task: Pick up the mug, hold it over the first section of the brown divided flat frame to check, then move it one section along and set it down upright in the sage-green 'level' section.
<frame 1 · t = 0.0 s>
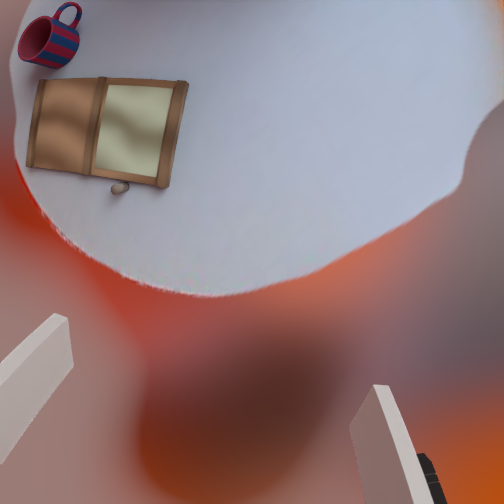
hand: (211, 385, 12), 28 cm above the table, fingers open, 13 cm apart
mug: (70, 40, 31), on the table
brown divided flat frame: (98, 125, 35), on the table
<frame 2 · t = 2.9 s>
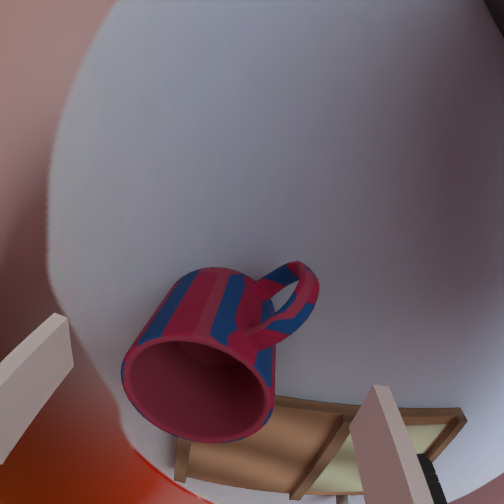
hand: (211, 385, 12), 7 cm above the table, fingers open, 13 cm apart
mug: (241, 303, 18), on the table
brown divided flat frame: (316, 453, 22), on the table
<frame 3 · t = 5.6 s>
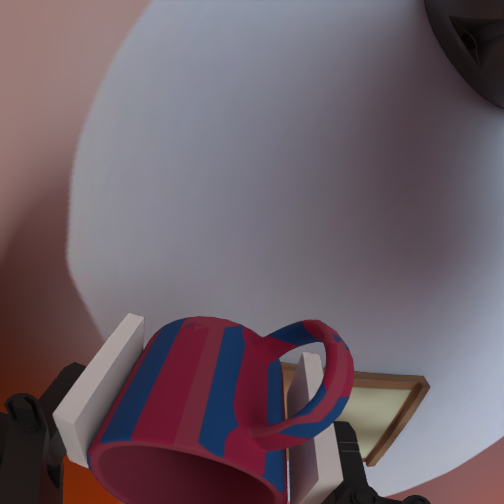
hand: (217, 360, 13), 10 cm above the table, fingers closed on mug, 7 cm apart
mug: (238, 357, 14), point 10 cm above the table, touching gripper
brown divided flat frame: (296, 416, 27), on the table
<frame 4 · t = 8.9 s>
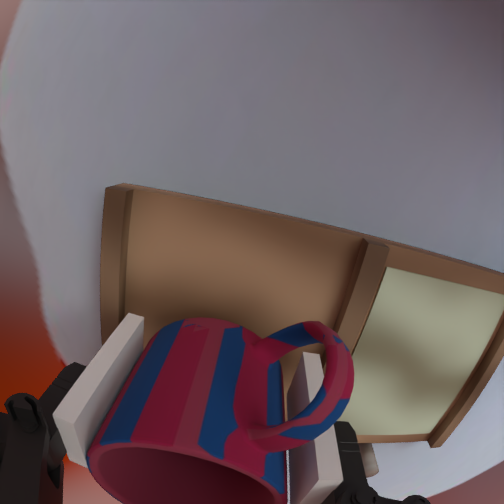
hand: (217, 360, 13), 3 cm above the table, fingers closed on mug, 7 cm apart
mug: (238, 358, 14), point 2 cm above the table, touching gripper
brown divided flat frame: (326, 351, 16), on the table
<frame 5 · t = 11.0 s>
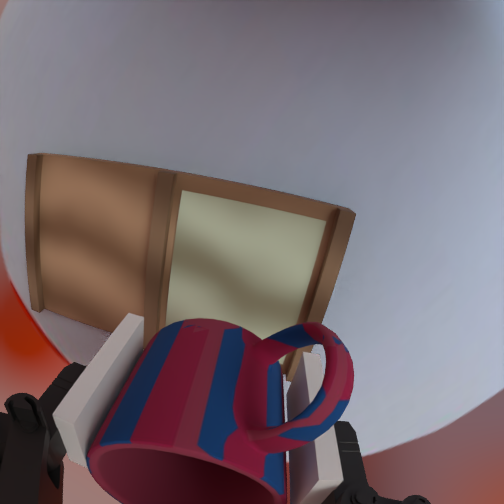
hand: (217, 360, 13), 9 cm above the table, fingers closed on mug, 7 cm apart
mug: (238, 359, 14), point 8 cm above the table, touching gripper
brown divided flat frame: (161, 263, 22), on the table
when the fingers open (3 cm above the table, at t = 12.6 s): mug drops 1 cm, resting on brown divided flat frame.
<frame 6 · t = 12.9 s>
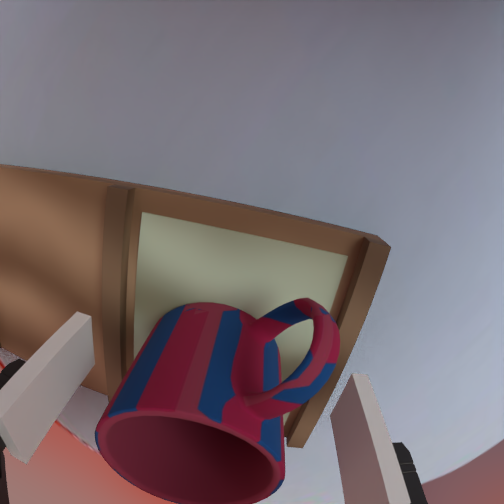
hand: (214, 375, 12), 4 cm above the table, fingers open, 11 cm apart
mug: (237, 341, 15), point 1 cm above the table, touching brown divided flat frame
brown divided flat frame: (124, 305, 16), on the table
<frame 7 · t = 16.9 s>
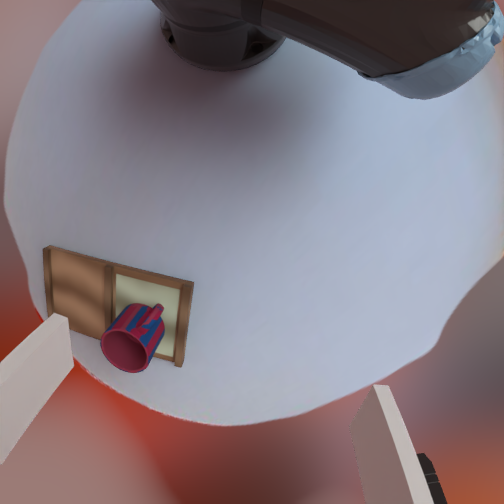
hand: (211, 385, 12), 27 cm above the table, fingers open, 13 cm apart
mug: (150, 317, 41), point 1 cm above the table, touching brown divided flat frame
brown divided flat frame: (112, 304, 42), on the table
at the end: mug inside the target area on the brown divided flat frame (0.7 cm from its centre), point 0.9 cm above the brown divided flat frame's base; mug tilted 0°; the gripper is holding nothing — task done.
